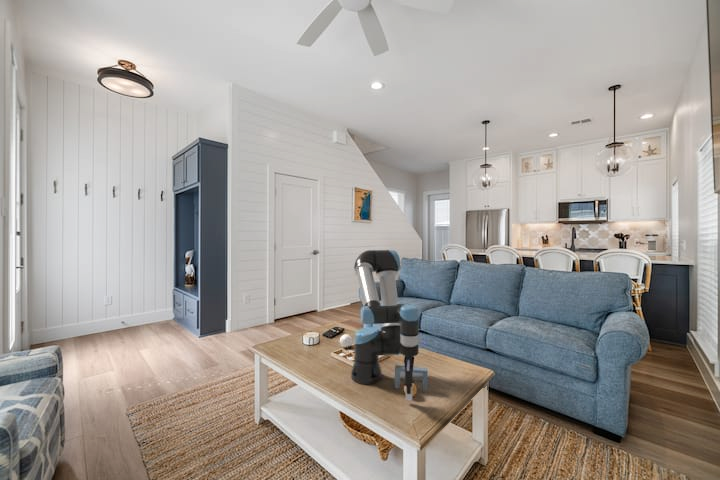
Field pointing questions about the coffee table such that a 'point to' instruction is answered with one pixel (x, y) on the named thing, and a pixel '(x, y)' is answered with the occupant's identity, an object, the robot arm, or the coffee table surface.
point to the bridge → (415, 370)
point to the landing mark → (415, 376)
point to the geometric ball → (346, 340)
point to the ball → (412, 389)
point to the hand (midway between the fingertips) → (408, 399)
